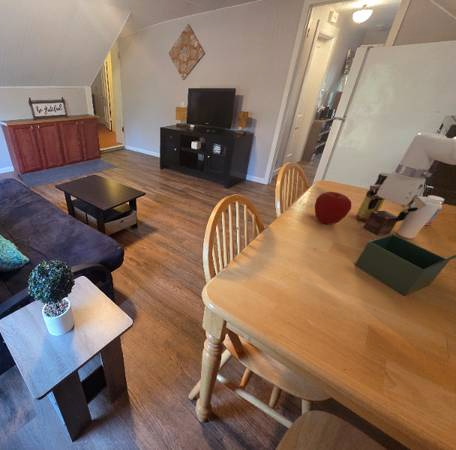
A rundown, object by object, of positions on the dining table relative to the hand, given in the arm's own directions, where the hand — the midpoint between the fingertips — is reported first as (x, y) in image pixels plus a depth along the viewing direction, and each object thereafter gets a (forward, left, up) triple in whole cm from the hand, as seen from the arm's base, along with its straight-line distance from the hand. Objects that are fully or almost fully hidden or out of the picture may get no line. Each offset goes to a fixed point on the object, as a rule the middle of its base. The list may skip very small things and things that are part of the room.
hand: (384, 214), depth 93 cm
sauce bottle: (+8, -5, -7) cm, 12 cm away
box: (0, 0, -7) cm, 7 cm away
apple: (+12, +13, -7) cm, 19 cm away
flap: (-26, +23, +6) cm, 35 cm away
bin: (-18, +23, -7) cm, 30 cm away
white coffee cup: (-6, -7, -7) cm, 12 cm away
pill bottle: (-2, -25, -7) cm, 26 cm away
